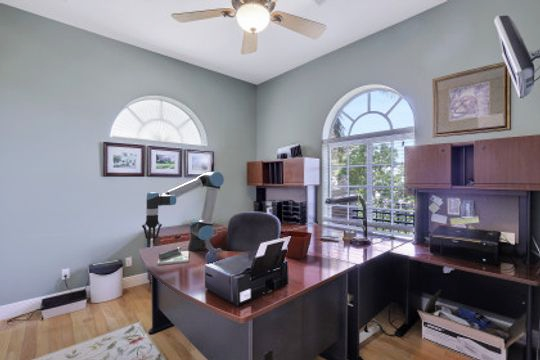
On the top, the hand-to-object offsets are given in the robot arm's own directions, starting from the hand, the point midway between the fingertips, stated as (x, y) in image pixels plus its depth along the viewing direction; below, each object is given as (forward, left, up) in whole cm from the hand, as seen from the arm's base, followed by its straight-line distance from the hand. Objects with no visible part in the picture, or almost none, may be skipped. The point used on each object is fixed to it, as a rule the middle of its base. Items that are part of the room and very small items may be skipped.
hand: (151, 248), depth 177 cm
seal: (-41, +15, -10) cm, 45 cm away
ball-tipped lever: (-12, -4, -8) cm, 15 cm away
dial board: (-14, -4, -10) cm, 18 cm away
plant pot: (-102, +16, -10) cm, 104 cm away
